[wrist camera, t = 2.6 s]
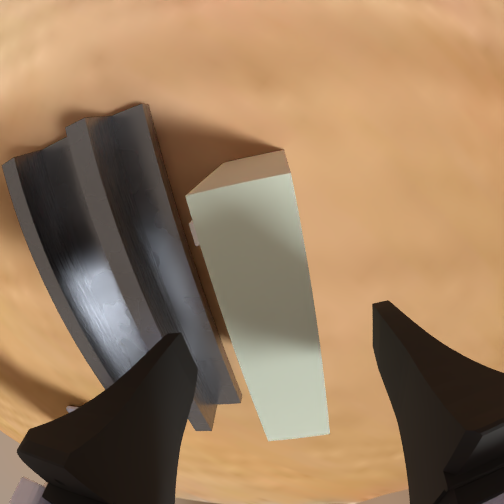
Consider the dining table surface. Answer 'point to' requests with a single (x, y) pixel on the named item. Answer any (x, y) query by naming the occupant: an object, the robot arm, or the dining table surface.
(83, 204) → the rail
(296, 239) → the sage green block
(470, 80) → the dining table surface
